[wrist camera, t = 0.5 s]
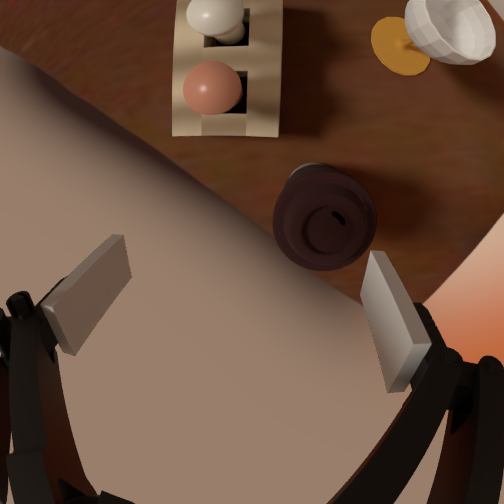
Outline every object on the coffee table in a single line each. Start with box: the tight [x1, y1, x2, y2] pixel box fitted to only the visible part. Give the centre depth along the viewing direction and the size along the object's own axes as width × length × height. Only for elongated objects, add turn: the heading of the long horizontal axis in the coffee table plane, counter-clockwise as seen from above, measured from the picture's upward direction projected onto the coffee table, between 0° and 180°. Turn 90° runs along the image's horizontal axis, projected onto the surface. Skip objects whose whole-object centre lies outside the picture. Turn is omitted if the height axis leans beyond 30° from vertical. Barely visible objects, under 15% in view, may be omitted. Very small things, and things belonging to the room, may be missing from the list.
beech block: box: [172, 0, 283, 137], centre depth 29 cm, size 18×12×6 cm, turn 178°
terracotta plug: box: [183, 61, 243, 115], centre depth 27 cm, size 5×5×8 cm
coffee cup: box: [273, 163, 377, 271], centre depth 32 cm, size 10×10×15 cm
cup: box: [371, 0, 496, 76], centre depth 20 cm, size 9×9×16 cm
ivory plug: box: [186, 0, 245, 45], centre depth 23 cm, size 5×5×8 cm
